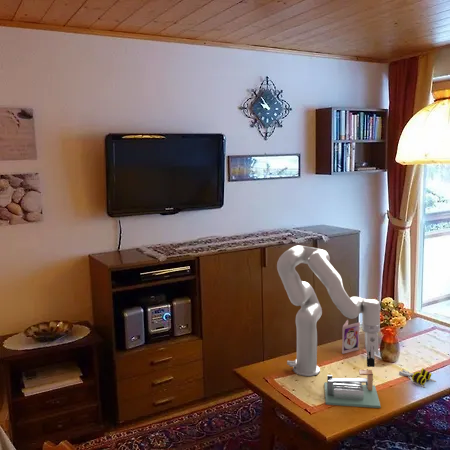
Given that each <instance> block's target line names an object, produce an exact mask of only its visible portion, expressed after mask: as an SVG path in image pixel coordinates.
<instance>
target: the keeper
mask: <svg viewBox="0 0 450 450" xmlns="http://www.w3.org/2000/svg"><path fill="white" fill-rule="evenodd" d="M358 372H359V375H360V376H366V378H367V381H368V386H367V388H368V390H372V386H373V380H374V373H373V370H372V369H371V370H370V369H358Z"/></svg>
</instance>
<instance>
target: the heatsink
mask: <svg viewBox="0 0 450 450" xmlns="http://www.w3.org/2000/svg"><path fill="white" fill-rule="evenodd" d="M326 375H327V378H326V379H327V390H328V395H330V396H333V394H334V398H341V399H356V400H363V388H362V385H363V383H334V382H333V380H329V378H333V374H326Z"/></svg>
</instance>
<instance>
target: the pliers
mask: <svg viewBox="0 0 450 450" xmlns="http://www.w3.org/2000/svg"><path fill="white" fill-rule="evenodd" d="M398 374H399V375H401V376H403V377H407V376H408V377H407V378H408V379H410V382H412V383H413V384H414V385H416V386H419V387H421V388H426V386H424V385H422V384H420V383H417V382H416V381H413V380H412V376H413V374H414V373H413V372H409V371H407V370H405V369H402V371H400V370H399V371H398ZM429 381H432V382H434V383H436V382H437V380H436V379H433V378H430V380H429Z"/></svg>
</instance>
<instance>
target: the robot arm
mask: <svg viewBox="0 0 450 450" xmlns="http://www.w3.org/2000/svg"><path fill="white" fill-rule="evenodd" d="M330 259H331V257H330V255H329V253H328V252H327V250H325V249H321V248H317V247H311V246H306V245H301V244H300V245H299V244H298V245H293V246H292V247H290V248H288V249H287V250H285V251H284V252H283V253H282V254H281V255H280V256H279V258H278V260H277V262H276V263H277V264H276V269H277V272H278V276H279V277H280V280H281V283H282V284H283V288H284V290H285V291H286V294H287V297H288V299H289V301H290V303H291V304H292V305H294V306H296V307H299V306H300V309H298V311H297V312H296V315H295V326H296V358H295V360H287V361H286V365H287V366H289V367H293V368H292V371H293V372H294V373H295V374H297V375H300V376H302V377H303V376H304V377H313V376H317V375H319V374H320V372H321V369H320V367H319V366H318V365H317V363H318V361H317V359H318V356H317V355H318V331H317V322H318V321H319V320H320V318H321V316H322V314H323V310H322V309H323V308H322V306H321V304H320V301H319V299H318V297H317V294H316V292H315V289H314V288H313V287H312V285H311V284H310V283H309V282H307V281H303V280H302V279H301V276H300V274H299V272H298V271H297V270H296V267H297V266H298V265H300V264H306V265H308V267H309V269H310V270H311V271H312V273H314V275H315V276H316V277H317V278H318V280H319V281H320V282H321V284H323V286H324V287H325V288H326V291H327V294H328V295H329V297H330V299H331V301H332V302H333V304H334V305H335V307H336V308H337V310H339V311H340V313H341V314H342V315H343V316H344V317H346V318H347V319H352V320H353V319H356V318H357V317H358V316H359V315H360V314H361V316H362V320H361V321H362V323H361V324H362V327H361V328H362V329H361V330H362V331H363V333H364V346H365V351H366V356H367V357H366V367H368V368H375V366H376V365H375V362H376V361H375V360H376V359H375V355H379V333H380V332H381V331H380V330H381V329H380V328H381V303H380V301H378V300H377V299H373V298H367V299H366V298H362V297H360V296H351V297H350V296H349V294H348V293H347V291H346V290H345V288H344V284H343V279H342V276H341V274H340V273H339V272H338V270H336V268H334V266H333V265H332V264H331V262H330V261H331V260H330Z"/></svg>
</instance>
